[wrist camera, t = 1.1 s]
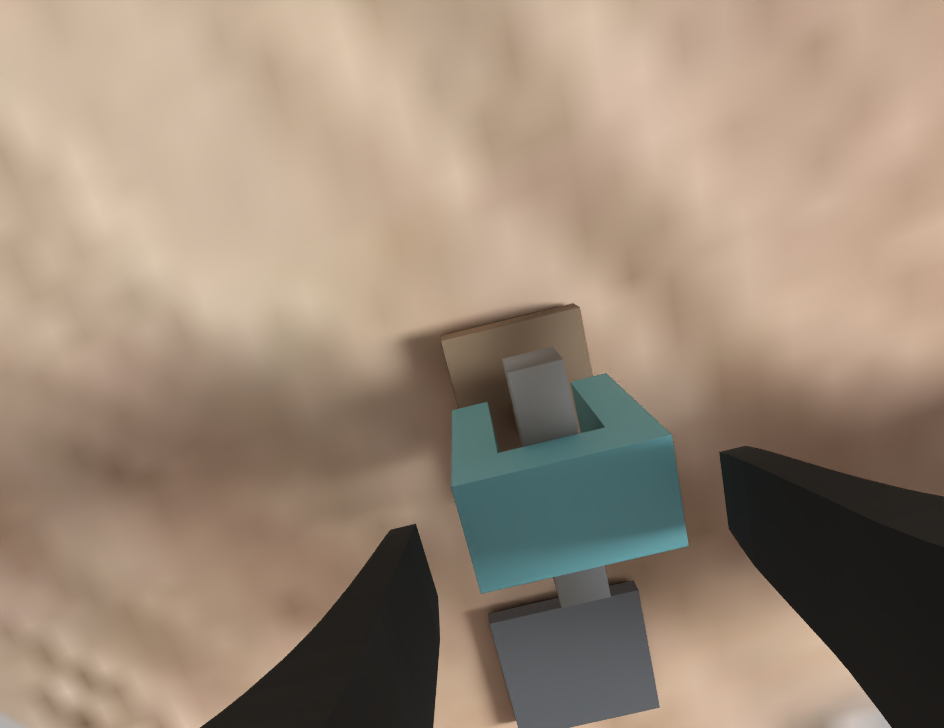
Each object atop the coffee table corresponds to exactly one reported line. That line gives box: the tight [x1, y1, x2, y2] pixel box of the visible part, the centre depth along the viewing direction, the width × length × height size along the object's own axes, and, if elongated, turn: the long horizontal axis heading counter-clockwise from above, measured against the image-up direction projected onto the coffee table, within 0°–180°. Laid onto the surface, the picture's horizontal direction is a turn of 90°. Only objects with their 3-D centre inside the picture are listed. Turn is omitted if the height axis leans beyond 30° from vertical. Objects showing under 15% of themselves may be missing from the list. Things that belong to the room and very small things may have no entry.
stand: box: [441, 304, 611, 608], centre depth 17 cm, size 5×7×7 cm
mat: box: [489, 581, 660, 728], centre depth 23 cm, size 6×6×1 cm
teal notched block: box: [451, 373, 689, 594], centre depth 15 cm, size 5×3×5 cm, turn 104°
